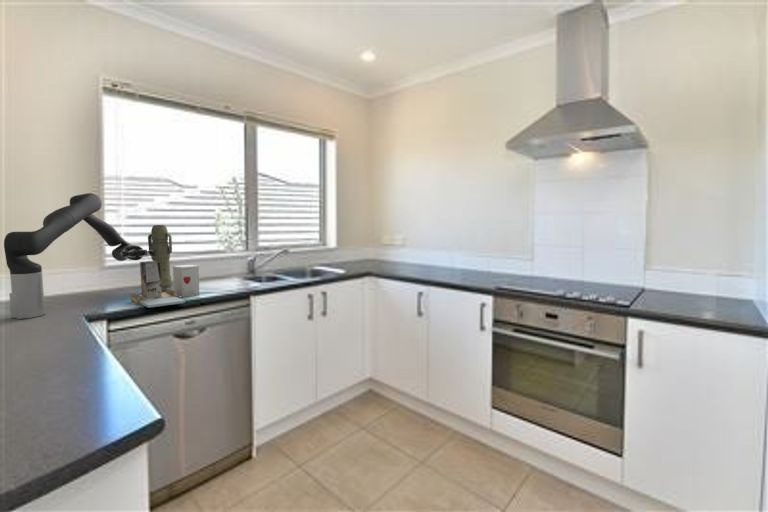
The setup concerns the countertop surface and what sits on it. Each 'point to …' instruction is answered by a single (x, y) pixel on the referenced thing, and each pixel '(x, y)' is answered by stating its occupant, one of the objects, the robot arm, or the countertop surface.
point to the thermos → (161, 252)
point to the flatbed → (137, 298)
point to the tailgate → (161, 301)
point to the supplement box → (186, 280)
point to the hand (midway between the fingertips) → (143, 253)
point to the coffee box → (151, 279)
